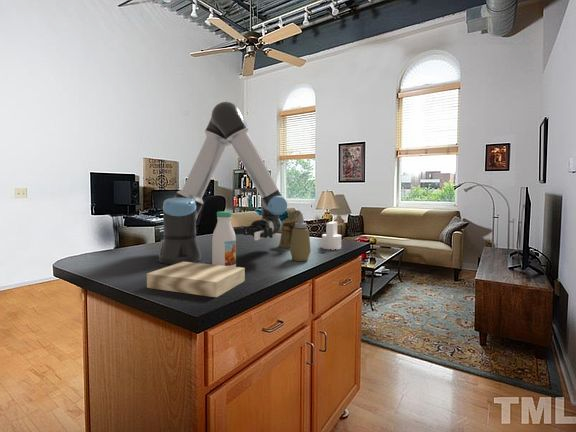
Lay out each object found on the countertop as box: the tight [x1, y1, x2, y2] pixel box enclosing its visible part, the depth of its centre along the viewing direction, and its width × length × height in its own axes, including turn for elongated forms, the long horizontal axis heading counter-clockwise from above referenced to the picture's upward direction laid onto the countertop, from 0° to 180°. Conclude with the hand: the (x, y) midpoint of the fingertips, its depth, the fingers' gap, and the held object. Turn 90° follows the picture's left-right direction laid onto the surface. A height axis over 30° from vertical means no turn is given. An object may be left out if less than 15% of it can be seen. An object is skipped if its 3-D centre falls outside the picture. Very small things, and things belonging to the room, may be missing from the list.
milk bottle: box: [211, 211, 237, 267], centre depth 109 cm, size 8×8×20 cm
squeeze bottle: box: [289, 213, 311, 262], centre depth 129 cm, size 8×8×18 cm
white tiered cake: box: [321, 221, 342, 251], centre depth 157 cm, size 9×9×12 cm
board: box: [146, 262, 246, 298], centre depth 96 cm, size 22×16×4 cm
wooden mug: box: [278, 210, 303, 249], centre depth 156 cm, size 9×14×18 cm, turn 27°
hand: (237, 235), depth 118 cm, fingers open, 13 cm apart
